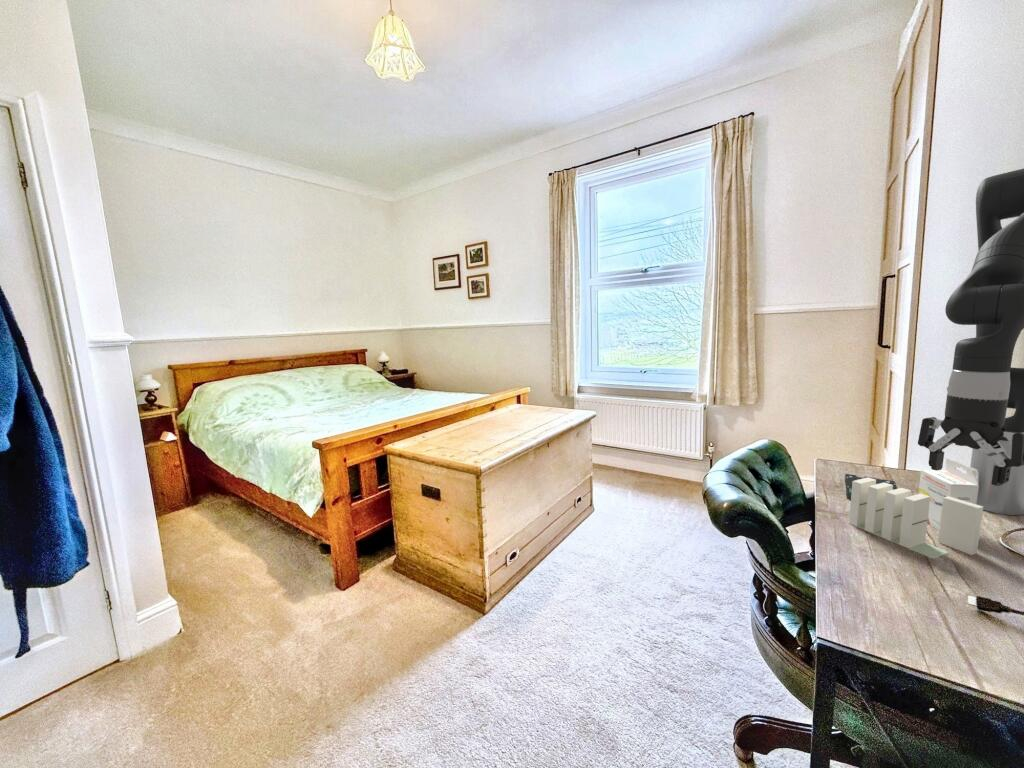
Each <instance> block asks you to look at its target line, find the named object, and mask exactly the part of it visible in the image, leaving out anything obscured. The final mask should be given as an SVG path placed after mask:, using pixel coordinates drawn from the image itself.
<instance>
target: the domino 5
mask: <svg viewBox="0 0 1024 768" xmlns="http://www.w3.org/2000/svg"><path fill="white" fill-rule="evenodd" d="M983 511H984V510H983V506H980V505H976V504H973V503H970V502H966V501H963V500H959V499H956V498H953V497H949V496H947V497H944V498H943V504H942V512H941V520H940V528H939V530H938V537H937V542H938V543H939V544H941V545H942V544H943V545H944V546H946V547H947V546H948V547H950V548H953V549H955V550H957V551H960V552H963V553H965V554H968V555H971V556H973V555H976V554H978V548H979V541H980V540H979V539H980V533H981V526H982V518H983Z"/></svg>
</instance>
